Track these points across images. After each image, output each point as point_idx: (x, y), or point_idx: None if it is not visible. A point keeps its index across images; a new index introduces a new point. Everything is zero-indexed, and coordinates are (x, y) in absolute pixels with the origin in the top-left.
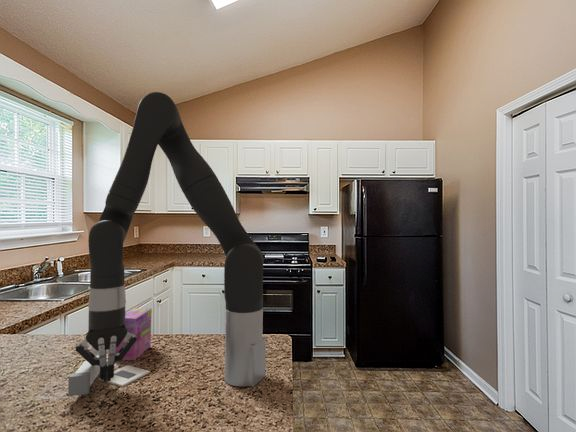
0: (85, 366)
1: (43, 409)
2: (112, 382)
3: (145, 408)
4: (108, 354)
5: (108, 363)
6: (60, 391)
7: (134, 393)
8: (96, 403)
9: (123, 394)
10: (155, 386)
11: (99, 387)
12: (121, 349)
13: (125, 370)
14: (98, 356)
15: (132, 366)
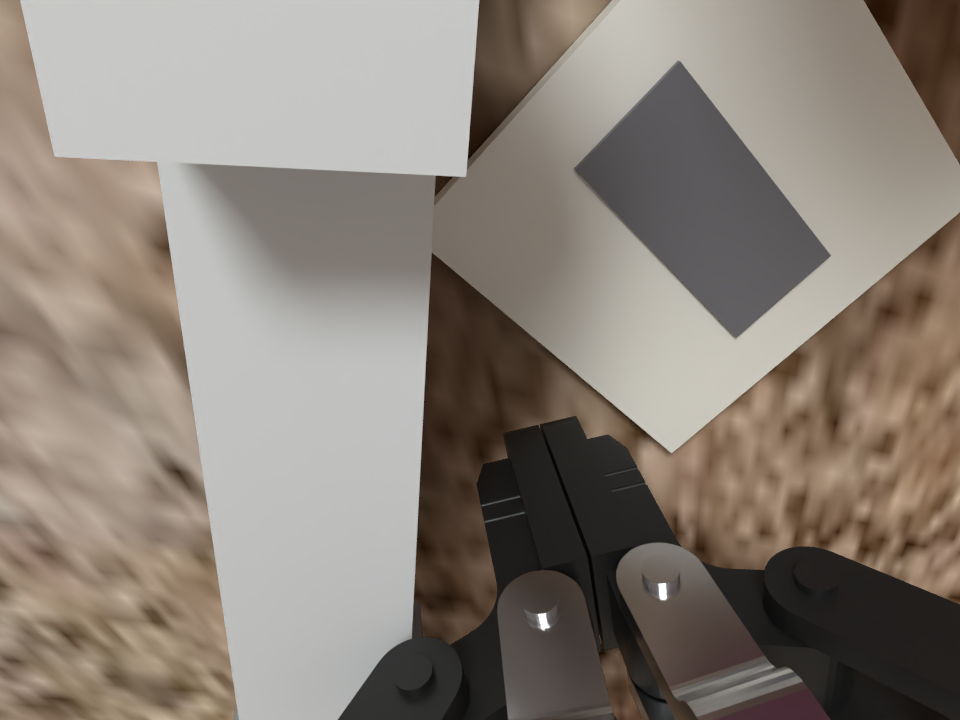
0: (315, 679)
1: (104, 652)
2: (579, 375)
3: None
4: (654, 662)
5: (630, 681)
6: (55, 408)
7: (750, 549)
8: None
9: None
10: (915, 480)
11: (457, 406)
12: (906, 679)
13: (721, 80)
14: (404, 355)
15: None
